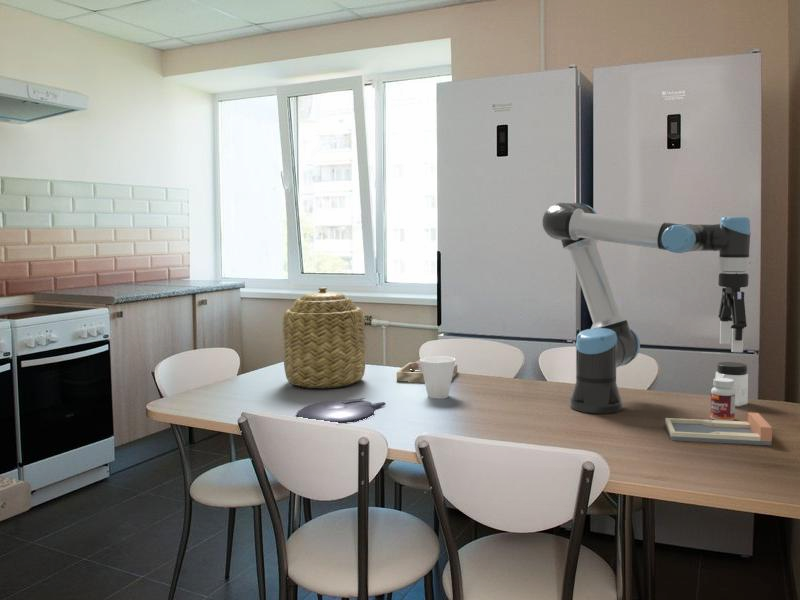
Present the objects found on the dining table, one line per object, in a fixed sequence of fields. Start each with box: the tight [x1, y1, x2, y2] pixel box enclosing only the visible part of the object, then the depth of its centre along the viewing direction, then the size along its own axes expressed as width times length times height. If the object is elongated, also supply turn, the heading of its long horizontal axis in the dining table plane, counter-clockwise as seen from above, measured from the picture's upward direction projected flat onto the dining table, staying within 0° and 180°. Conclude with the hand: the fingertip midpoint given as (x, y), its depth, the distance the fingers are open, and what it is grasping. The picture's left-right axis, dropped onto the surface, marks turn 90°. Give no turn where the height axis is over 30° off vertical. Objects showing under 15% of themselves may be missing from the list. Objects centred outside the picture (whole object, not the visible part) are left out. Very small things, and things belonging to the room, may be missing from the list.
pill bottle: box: [710, 377, 736, 421], centre depth 192 cm, size 6×6×11 cm
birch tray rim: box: [396, 362, 458, 384], centre depth 257 cm, size 19×19×4 cm
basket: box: [282, 286, 367, 389], centre depth 250 cm, size 30×30×35 cm
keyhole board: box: [664, 412, 773, 446], centre depth 178 cm, size 23×14×4 cm, turn 75°
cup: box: [419, 355, 456, 400], centre depth 226 cm, size 12×12×12 cm
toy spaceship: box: [295, 397, 386, 424], centre depth 209 cm, size 28×24×3 cm
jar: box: [715, 361, 749, 407], centre depth 209 cm, size 9×8×12 cm
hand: (730, 347), depth 194 cm, fingers open, 13 cm apart
